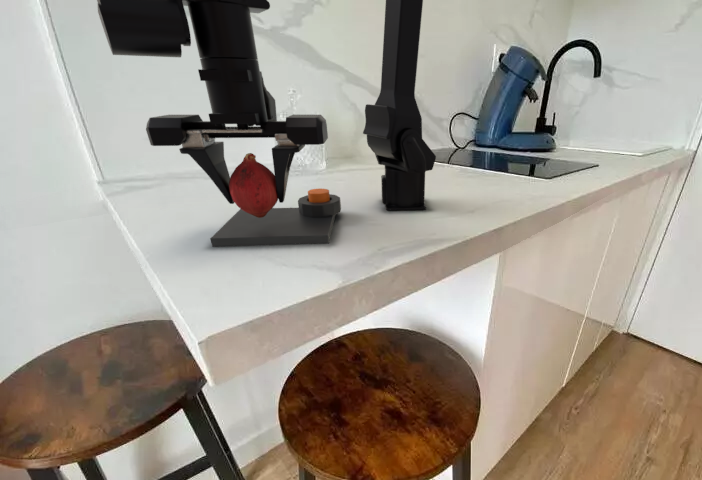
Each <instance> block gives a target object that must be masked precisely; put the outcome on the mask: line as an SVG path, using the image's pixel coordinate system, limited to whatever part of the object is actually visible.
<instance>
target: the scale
mask: <svg viewBox="0 0 702 480" xmlns="http://www.w3.org/2000/svg"><path fill="white" fill-rule="evenodd" d="M329 195H330V201H328V202H322V203H313V202H309V198H308V194H307V195H304V196H301V197H299V198H298V200H297V206H298V207H273V208H272V209H271V210H270V211H269V212H268V213H267V214H266V215H265V216H264V217H262V218H258V217H256V216H253V215H251V214H249V213H247V212H245V211H243V210H242V209H240V208H239V209H238V211H236V213H234V215H233V216H232V217H231V218H230V219H229V220H228V221H226V223H224V224H223V226H221V227H220V228H219V229H218V230H217V231H216V232H215V233H214V234H213V235H212V236H211V237H210V238H209V239H210V244H211V246H212V247H211V248H227V247H228V248H229V247H261V246H262V247H264V246H265V247H266V246H295V245H296V246H297V245H300V246H301V245H329V244H330V240H331V236H332V232H333V228H334V224H335V220H336V216H337V214H339V213H341V211H342V203H341V197H340V196H338V195H336V194H332V193H329Z"/></svg>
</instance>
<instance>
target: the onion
mask: <svg viewBox="0 0 702 480" xmlns="http://www.w3.org/2000/svg"><path fill="white" fill-rule="evenodd" d="M229 192H230V194H231V197H232V199H233V201H234V204H235V205H236V206H237V207H238V208H239V210H240V209H242V210H243V211H245V212H247V213H249V214H251V215H253V216H256V217H258V218H262V217H264V216H265V215H266V214H267V213H268V212H269V211H270V210H271V209H272V208H275V205H276V204H277V203H278V202H279V199H278V195H277V190H276V182H275V173H274V172H272V170H270V168H268V167H267V166H266V165H264V164H263V163H261V162H258V161H257V159H256V154H254V153H252V152H249V153H246V154H245V155H244V157H243V160H242V161H241V162H240V163H239V164H238V165H237V166H235V169H234V170H233V172H232V173H231V174H230V181H229Z"/></svg>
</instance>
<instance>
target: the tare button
mask: <svg viewBox="0 0 702 480" xmlns="http://www.w3.org/2000/svg"><path fill="white" fill-rule="evenodd" d="M329 194H330V190H329V189H327V188H311V189H309V190H308V191H307V195H308V198H309V202H313V203H322V202H328V201H330V195H329Z"/></svg>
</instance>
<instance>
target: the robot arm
mask: <svg viewBox="0 0 702 480" xmlns="http://www.w3.org/2000/svg"><path fill="white" fill-rule="evenodd" d="M96 2H97V13H98V16H99V17H98V18H99V20H100V23H101V26H102V29H103V33H104V34H105V37H106V40H107V43H108V46H109V49H110V51H111V54H112V55H113V56H133V57H155V58H157V57H159V58H182V52H183V51H182V46H183V47H191V45H192V38H191V37H192V36H191V31H190V25H189V21H188V16H187V14H186V10H185V7H187V8H188V13H189V17H190V22H191V26H192V30H193V34H194V38H195V44H196V48H197V53H198V56H199V62H200V64H201V65H200V66H201V69H197V71H198V75H199V80H200V81H202V82H205V87H206V90H207V92H206V93H207V95H208V100H209V104H210V110H211V113H208V119H209V120H203V119H202V118H201V116H200V115H199V114H164V115H159V116H152V117H151V116H150V117H149V118H148V120H147V122H146V126H145V131H146V134H147V137H148V141H149V144H150V146H153V147H179V146H181V148H179V153H180V154H181V155H189V156H190V157H191V158H192V160H193V161H194V162H195V163H196V164H197V165H198V166H199V167H200V168H201V169H202V171H204V173H205V174H206V175H207V176H208V177H209V178H210V180H211V181H212V183H214V185H215V186H216V187H217V189H218V190H219V191H220V193H221V194H222V196H223V197H224V198H225V200H226V201H227V202H228V204H231V205H233V204H235V202H234V201H233V199H232V197H231V194H230V192H229V181H230V177H231V175H230V173H229V169H228V166H227V162H226V158H225V142H224V141H216V139H260V138H261V139H262V138H263V139H270V138H271V139H272V138H274V140H275V141H276V143H277V144H276V145H275V146H273V147H272V148H271V155H272V165H273V174H274V175H275V182H276V190H277V195H278V202H279V203H281V204H282V203H284V202H285V200H286V199H285V198H286V193H287V187H288V182H289V175H290V170H291V167H292V163H293V160H294V156H295V155H296V154H297V153H300V152H301V151H302V150H303V148H305V147H306V146H307V145H308V146H309V145H311V146H312V145H313V146H314V145H317V146H318V145H319V146H320V145H324V144H325V143H326V141H328V139H329V134H328V133H329V132H328V124H327V119H326V118H325V117H324V116H323V115H322V114H291V115H288V116H286V117H285V120H278V119H277V118H278V117H277V116H278V115H277V106H276V105H277V104H276V99H275V97H273V95H272V94H271V93H270V91H269V90H267V88H266V86H265V82H264V77H263V73H262V72H263V71H261V70H260V64H259V58H258V53H257V47H256V40H255V34H254V28H253V27H254V26H253V22H252V15H251V14H261V13H263V12H265V11H268V10H269V9H270V8H271V4H270V2H269V1H268V0H96ZM423 4H424V0H385V7H384V8H385V11H384V27H383V44H382V61H381V62H382V63H381V76H380V77H381V80H380V90H379V91H380V92H379V95H378V97H377V99H376V101H375V103H374V104H369V103H368V104H365V107H364V115H365V124H364V128H363V131H362V134H363V135H366V143H367V146H368V147H369V148H370V150H371V151H372V153H373V154H374V155H375V159H376V161H377V164H378V165H380V166H384V174H382V175H381V179H380V180H381V184H380V185H381V203H382V204H383V205H384V206H385V208H384V209H385V211H425V210H427V205H426V203H425V197H426V196H425V193H426V191H425V190H426V172H428V171H429V172H430V171H432V170H433V169H434V165H435V162H436V159H437V156H436V154H435V153H434V152H433V150H432V149H431V148H430V146H429V145H428V144H427V143H426V141H425V140H424V139H423V119H422V118H423V117H422V114H421V112H420V109H419V106H418V102H417V100H416V96H415V95H416V93H415V92H416V83H417V82H416V81H417V71H418V59H419V50H420V49H419V48H420V39H421V37H420V36H421V27H422V26H421V25H422V17H423V16H422V15H423ZM184 6H185V7H184ZM226 125H236V126H226Z"/></svg>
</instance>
